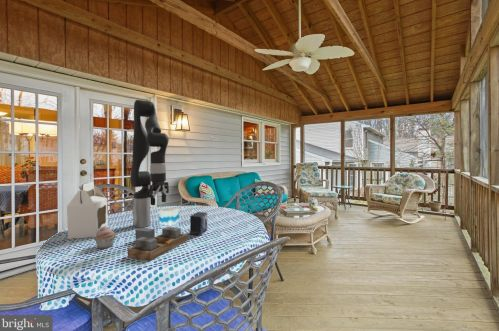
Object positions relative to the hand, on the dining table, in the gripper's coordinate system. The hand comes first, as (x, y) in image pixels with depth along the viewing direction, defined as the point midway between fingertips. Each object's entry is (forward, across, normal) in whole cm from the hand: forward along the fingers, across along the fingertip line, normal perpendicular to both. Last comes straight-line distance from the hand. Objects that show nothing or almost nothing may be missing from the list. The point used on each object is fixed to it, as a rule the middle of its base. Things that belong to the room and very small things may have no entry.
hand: (158, 203), depth 136 cm
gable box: (+19, +3, -45) cm, 49 cm away
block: (+19, +5, -5) cm, 20 cm away
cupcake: (+19, +17, -17) cm, 31 cm away
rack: (+18, +11, +9) cm, 23 cm away
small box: (+19, -17, +14) cm, 29 cm away
